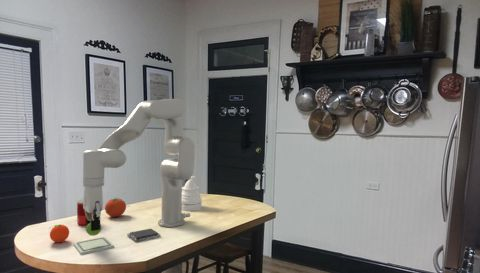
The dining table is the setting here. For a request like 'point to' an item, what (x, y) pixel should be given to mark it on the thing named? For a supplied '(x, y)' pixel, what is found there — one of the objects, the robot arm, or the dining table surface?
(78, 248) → the board
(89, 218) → the snail figurine
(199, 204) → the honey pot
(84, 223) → the canned food
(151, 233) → the ink pad
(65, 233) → the clementine
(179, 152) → the robot arm
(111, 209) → the tomato
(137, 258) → the dining table surface
